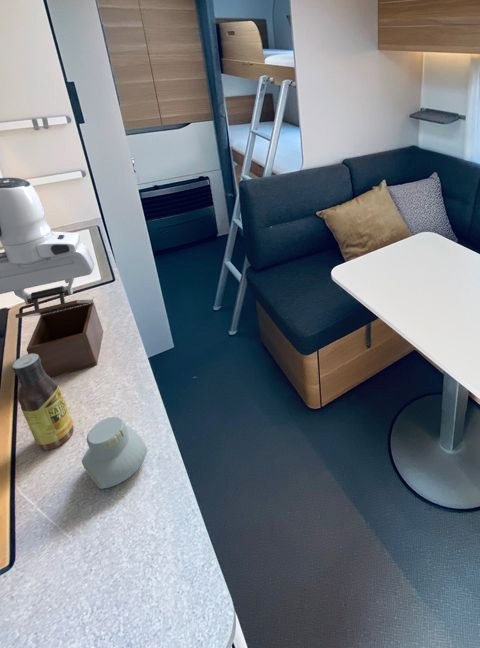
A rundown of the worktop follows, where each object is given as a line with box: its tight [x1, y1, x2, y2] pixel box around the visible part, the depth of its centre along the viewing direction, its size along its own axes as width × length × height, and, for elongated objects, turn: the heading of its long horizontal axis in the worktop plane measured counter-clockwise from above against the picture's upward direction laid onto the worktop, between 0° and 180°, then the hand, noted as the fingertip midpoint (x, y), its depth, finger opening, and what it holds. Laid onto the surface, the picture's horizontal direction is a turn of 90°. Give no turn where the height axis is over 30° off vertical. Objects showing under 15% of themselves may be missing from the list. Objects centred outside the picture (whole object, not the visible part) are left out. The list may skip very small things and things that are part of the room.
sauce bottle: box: [11, 353, 74, 451], centre depth 80 cm, size 7×6×20 cm
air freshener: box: [81, 416, 148, 489], centre depth 76 cm, size 11×8×10 cm
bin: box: [25, 302, 104, 379], centre depth 103 cm, size 14×12×10 cm
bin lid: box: [15, 285, 94, 319], centre depth 101 cm, size 14×12×5 cm
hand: (50, 298), depth 97 cm, fingers closed on bin lid, 6 cm apart
